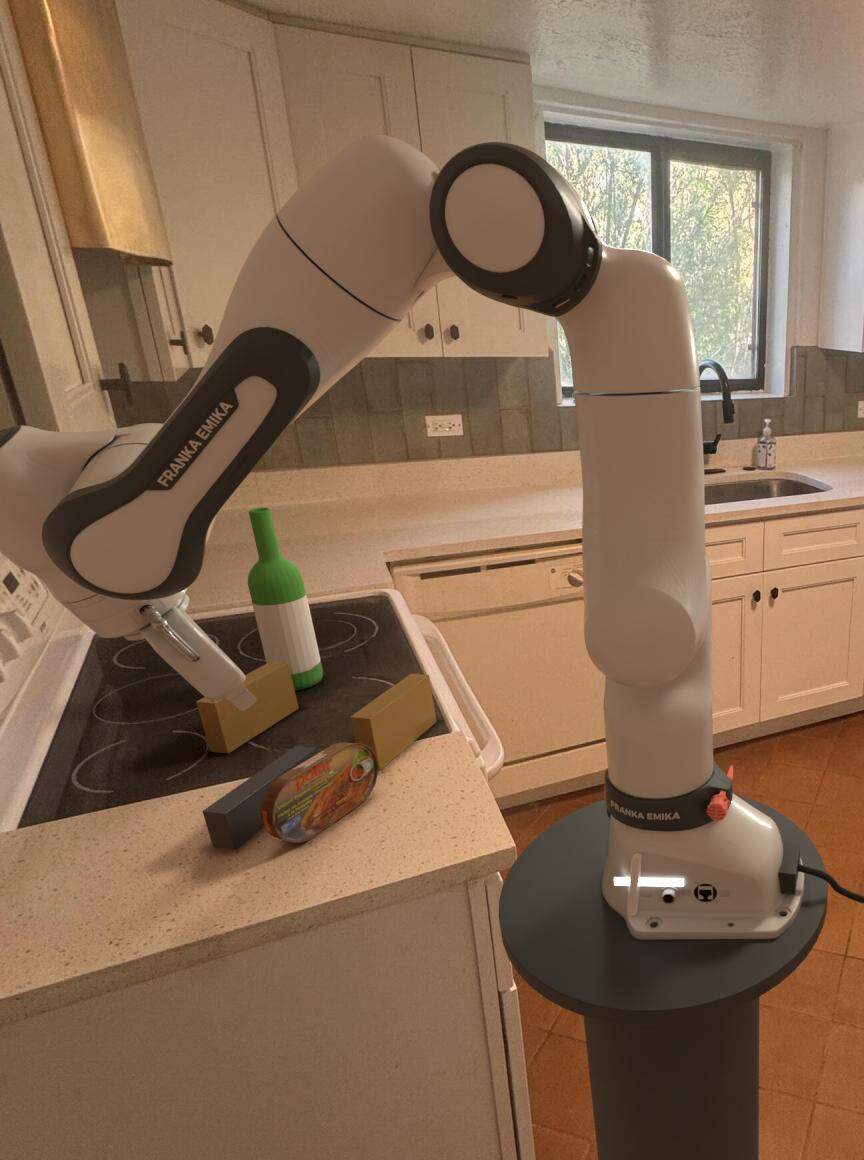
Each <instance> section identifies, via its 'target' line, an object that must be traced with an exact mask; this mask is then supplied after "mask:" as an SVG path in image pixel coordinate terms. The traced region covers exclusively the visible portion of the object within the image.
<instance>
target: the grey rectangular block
mask: <svg viewBox="0 0 864 1160" xmlns="http://www.w3.org/2000/svg"><path fill="white" fill-rule="evenodd" d="M316 754H318V751H317V747H311V746H304V745H295V746H293V747H292V748H290V749H289V750H288V751H286V752H285V753H283V754H282V755H281V756H279V757H277V758H276V759H274V761H272V762H271V763H269V764H267V765H266V766H265V767H263V768H262V769H261V770H259V771H258V772H256V773H255V774H253V775H251V776H250V777H249V778H248V779H246V780H244V781H243V782H242V783H240V784H239V785H238V786H236V787H235V788H233V789H231V790H230V791H228V793H226V794H225V795H223V796H222V797H219V799H218V800H216V801H214V802H213V803H211V804H210V805H209V806H208V807H206V808H205V809H203V810H202V814H203V815H202V816H203V818H204V821H205V824H206V829H207V831H208V836H209V839H210V841H211V845H212V847H213V848H219V849H224V850H225V849H227V850H233V851H234V850H237V849H238V848H240V847H241V845H242V844H245V842H247V841H248V840H249V839H251V837H253V836H254V835H256V834H257V833H258V832H260V831H261V830H262V829H263V828H264V826H263V824H262V820H261V814H260V806H261V802H262V799H263V796H264V794H265V792H266V791H267V789H268V787H269V786H270V785H271V784H272V783H273V782H274V781H275V780H276V779H277V778H278V777H279V776H281V775H283V774H284V773H286V772H288V771H289V770H291V769H293V768H294V767H296V766H298V765H299V764H301V763H303V762H304V761H306V760H308V759H309V758H311V757H313V756H314V755H316Z"/></svg>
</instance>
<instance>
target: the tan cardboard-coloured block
mask: <svg viewBox="0 0 864 1160" xmlns="http://www.w3.org/2000/svg"><path fill="white" fill-rule="evenodd" d="M244 675H245V677H246V680H245V681H244V682H243V683H242V684H243V685H244V686H245V688H246V689H247V690H248V691H249V692H250V693H251V694H252V695H253V696H254V697H256V702H255V703H254V704H253V705H252V706H250V707H249V708H248V709H246V710H244V711H241V710H239V709H238V708H237V707H236V706H235V705H234V704H232V703H231V702H230V701H228V700H227V699H225V698H222V699H221V700H219V701H217V702H213V701H211V700H209V699H207V698H206V697H204V696H203V697H202V698H200V699H198V700H196V703H195V704H196V708H197V709H198V713H199V716H200V721H201V724H202V727H203V731H204V734H205V735H204V736H205V738H206V741H207V745H208V748H209V751H210V752H212V753H220V754H230V753H232V752H233V751H235V750H236V749H238V748H239V747H241V746H243V745H244V744H245V743H247V742H249V741H251V740H252V739H254V738H255V737H256V736H258V735H260V734H261V733H263V732H264V731H266V730H268V729H269V728H270V727H272V726H274V725H275V724H277V723H278V722H280V721H281V720H283V719H284V718H286V717H288V716H289V715H291V714H293V713H294V712H295V711H297V710H298V709H299V703H298V700H297V695H296V691H295V690H294V686H293V682H292V677H291V673H290V669H289V664H288V663H286V662H275V661H271V662H269V663H265V664H263V665H262V666H260V667H258V668H256V669H254V670H252V671H250V672H248V673H247V674H244Z"/></svg>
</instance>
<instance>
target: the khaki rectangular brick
mask: <svg viewBox="0 0 864 1160" xmlns="http://www.w3.org/2000/svg"><path fill="white" fill-rule="evenodd" d="M430 679H431V678H430V674H423V673H413V672H412V673H409V674H408V675H407V676H405V677H404V678H402V679H401V680H400V681H399V682H397V683H395V684H394V685H392V686H391V687H390V688H389V689H387V690H385V691H384V692H383V693H381V694H380V695H379V696H377V697H376V698H374V699H373V700H372V701H370V702H368V703H367V704H366V705H364V706H363V707H362V708H360V709H359V710H358V711H356V712H355V713H354V714H352V715H351V716H350V717H349V719H350V724H351V728H352V733H353V738H354V743H360V744H364V745H366V746H368V747H369V748H370V749H371V750H372V751H373V752H374V754H375V756H376V759H377V763H378V771H381V770H383V769H384V768H385V767H386V766H387V765H388V764H389V763H391V762H392V761H393V760H394V759H396V757H398V756H399V755H400V754H401V753H403V752H404V751H405V750H406V749H407V748H408V747H409V746H411V745H412V744H413V743H414V742H415V741H416V740H417V739H419V737H421V736H422V735H423V734H424V733H426V732H427V731H428V730H429V729H430V728H432V727H433V726H434V725H435V724H436V723H437V717H436V716H437V715H436V711H435V705H434V704H435V703H434V698H433V691H432V685H431V680H430Z"/></svg>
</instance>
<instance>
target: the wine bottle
mask: <svg viewBox="0 0 864 1160" xmlns="http://www.w3.org/2000/svg"><path fill="white" fill-rule="evenodd" d="M248 516H249V520H250V524H251V528H252V533H253V537H254V543H255V547H256V551H257V555H258V560H257V562H256V563H254V565H253V566H252V567H251V569H250V570H249V572H248V575H247V586H248V591H249V595H250V599H251V604H252V607H253V608H252V609H253V612H254V617H255V621H256V626H257V629H258V634H259V637H260V642H261V645H262V650H263V655H264V659H265V662H266V663H265V664H267V663H269V662H271V661H275V662H286V663H288V664H289V669H290V673H291V677H292V682H293V686H294V690H295V692H297V691H302V690H305V689H309V688H312V687H313V686H315V685H318V683H320V682H321V681H322V680H323V676H324V669H323V665H322V659H321V655H320V650H319V646H318V641H317V637H316V632H315V628H314V624H313V619H312V614H311V610H310V609H311V608H310V606H309V600H308V596H307V592H306V588H305V583H304V579H303V576H302V573H301V571H300V569H299V568H298V566H296V564H294V563H293V562H291V560H288V559H286V558H284V557H283V556H282V554H281V551H280V546H279V542H278V537H277V534H276V529H275V525H274V521H273V516H272V512H271V509H270V508H268V507H255V508H252V509H250V510H249V511H248Z"/></svg>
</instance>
